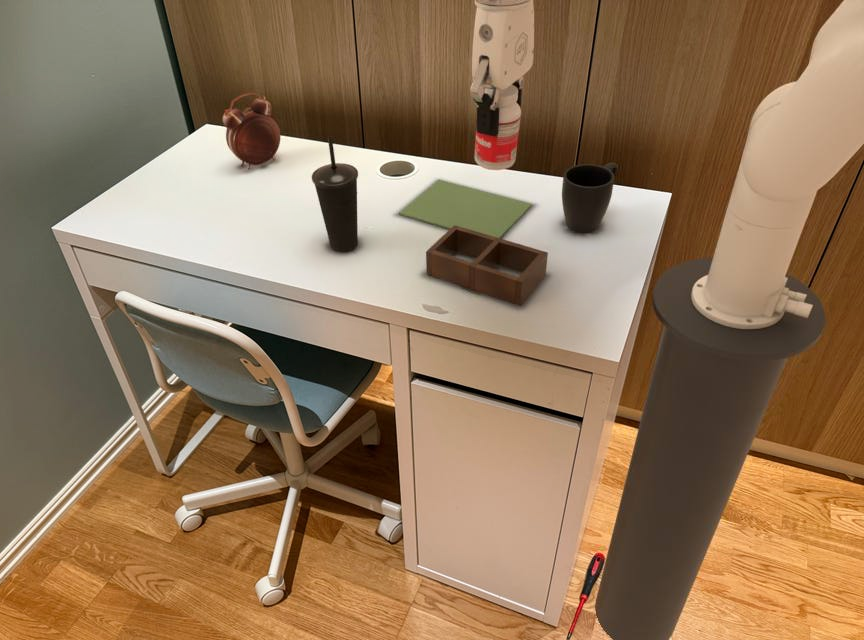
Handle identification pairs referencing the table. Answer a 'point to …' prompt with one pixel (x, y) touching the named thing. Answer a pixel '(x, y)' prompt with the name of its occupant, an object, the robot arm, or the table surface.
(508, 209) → the mat
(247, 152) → the alarm clock
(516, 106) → the pill bottle
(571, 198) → the mug
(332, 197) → the drinking cup
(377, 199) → the table surface
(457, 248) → the wooden compartment box
